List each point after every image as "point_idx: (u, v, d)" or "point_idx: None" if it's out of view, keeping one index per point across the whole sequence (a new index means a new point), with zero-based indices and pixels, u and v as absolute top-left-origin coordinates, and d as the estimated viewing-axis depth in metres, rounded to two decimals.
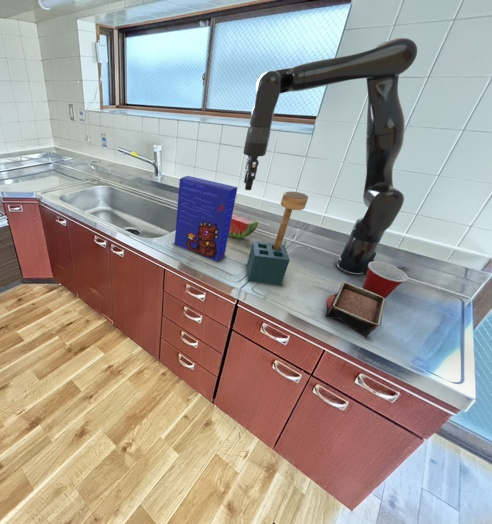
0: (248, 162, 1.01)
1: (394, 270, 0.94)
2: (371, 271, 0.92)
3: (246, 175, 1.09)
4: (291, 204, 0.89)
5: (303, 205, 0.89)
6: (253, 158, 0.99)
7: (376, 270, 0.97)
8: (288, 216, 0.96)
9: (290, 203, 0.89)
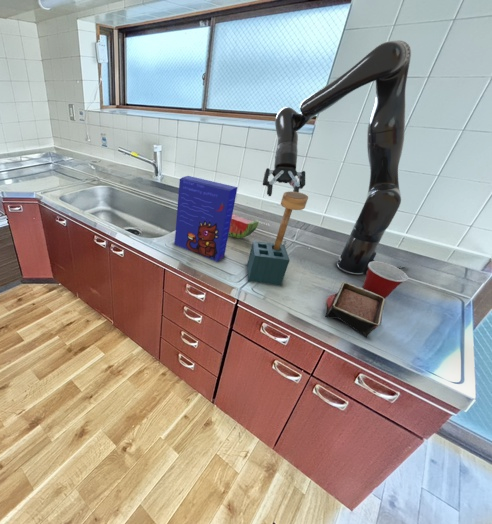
0: None
1: (394, 270, 0.94)
2: (371, 271, 0.92)
3: (293, 191, 1.06)
4: (291, 204, 0.89)
5: (303, 205, 0.89)
6: (274, 169, 1.09)
7: (376, 270, 0.97)
8: (288, 216, 0.96)
9: (290, 203, 0.89)
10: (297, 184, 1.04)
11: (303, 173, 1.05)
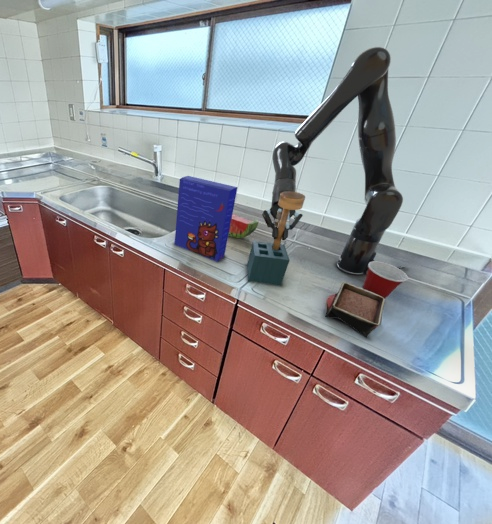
0: None
1: (394, 270, 0.94)
2: (371, 271, 0.92)
3: None
4: (288, 204, 0.89)
5: (300, 205, 0.89)
6: (271, 207, 1.04)
7: (376, 270, 0.97)
8: (286, 216, 0.97)
9: (287, 203, 0.89)
10: (286, 225, 1.00)
11: (300, 216, 1.00)
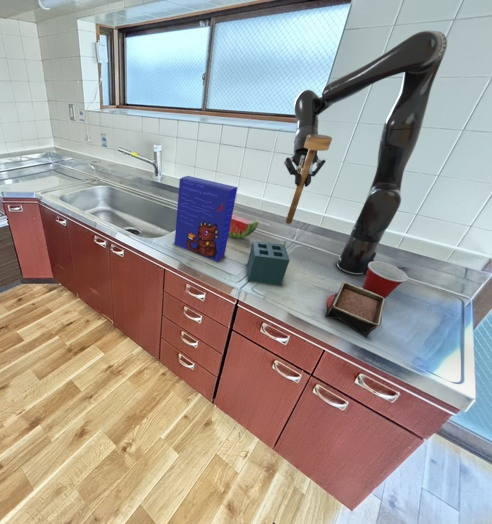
0: None
1: (394, 270, 0.94)
2: (371, 271, 0.92)
3: None
4: (315, 144, 0.90)
5: (327, 145, 0.90)
6: (293, 154, 1.04)
7: (376, 270, 0.97)
8: (310, 161, 0.97)
9: (314, 144, 0.90)
10: (309, 171, 1.00)
11: (322, 162, 1.00)
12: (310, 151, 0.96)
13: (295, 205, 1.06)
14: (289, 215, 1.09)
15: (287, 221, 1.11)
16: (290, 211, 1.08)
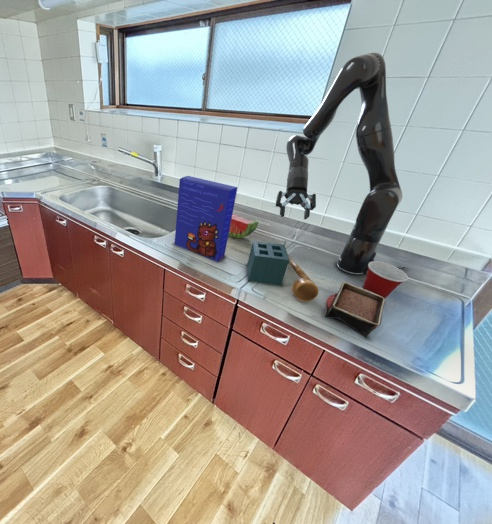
0: None
1: (394, 270, 0.94)
2: (371, 271, 0.92)
3: (304, 212, 1.14)
4: None
5: None
6: (286, 192, 1.17)
7: (376, 270, 0.97)
8: None
9: None
10: (308, 206, 1.12)
11: (314, 196, 1.13)
12: None
13: None
14: None
15: None
16: None
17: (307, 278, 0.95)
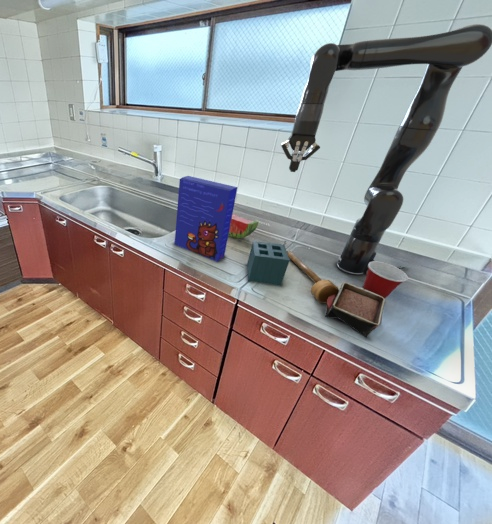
0: None
1: (394, 270, 0.94)
2: (371, 271, 0.92)
3: None
4: (318, 285, 0.94)
5: (313, 294, 0.96)
6: (291, 135, 0.99)
7: (376, 270, 0.97)
8: None
9: (319, 285, 0.94)
10: (298, 158, 1.01)
11: (316, 148, 0.98)
12: None
13: (294, 260, 1.15)
14: (290, 254, 1.19)
15: (287, 251, 1.21)
16: (293, 256, 1.17)
17: None
